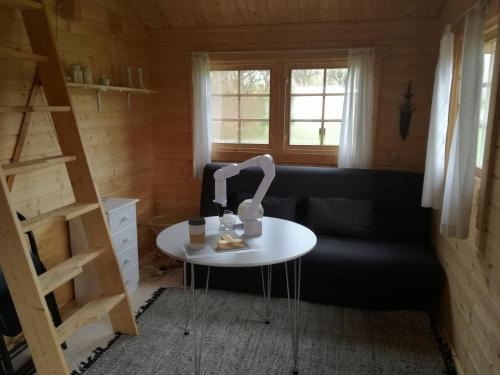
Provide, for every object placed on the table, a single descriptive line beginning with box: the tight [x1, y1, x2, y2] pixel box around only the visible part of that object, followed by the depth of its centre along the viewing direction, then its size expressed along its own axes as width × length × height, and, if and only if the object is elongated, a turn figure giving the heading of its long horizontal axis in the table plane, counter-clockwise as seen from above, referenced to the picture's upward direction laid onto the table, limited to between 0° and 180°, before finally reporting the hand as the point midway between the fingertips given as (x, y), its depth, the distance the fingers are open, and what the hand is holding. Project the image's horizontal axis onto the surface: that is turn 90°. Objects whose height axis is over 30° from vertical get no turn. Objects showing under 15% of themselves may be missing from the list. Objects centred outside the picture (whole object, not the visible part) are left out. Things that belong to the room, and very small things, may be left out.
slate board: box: [205, 231, 251, 254], centre depth 200 cm, size 18×26×1 cm
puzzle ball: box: [237, 198, 264, 224], centre depth 232 cm, size 15×15×15 cm
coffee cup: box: [187, 216, 207, 250], centre depth 190 cm, size 8×8×15 cm
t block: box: [217, 235, 245, 250], centre depth 195 cm, size 12×12×3 cm
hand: (220, 216), depth 214 cm, fingers closed
